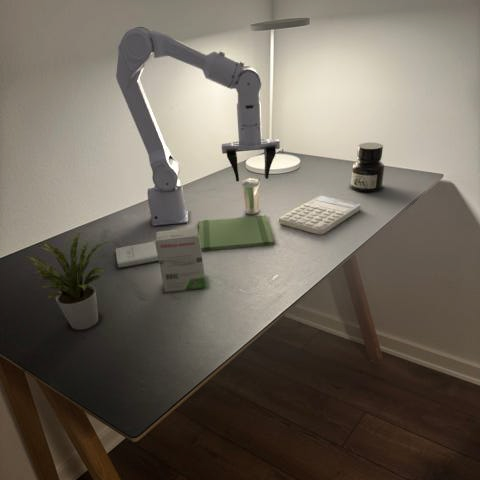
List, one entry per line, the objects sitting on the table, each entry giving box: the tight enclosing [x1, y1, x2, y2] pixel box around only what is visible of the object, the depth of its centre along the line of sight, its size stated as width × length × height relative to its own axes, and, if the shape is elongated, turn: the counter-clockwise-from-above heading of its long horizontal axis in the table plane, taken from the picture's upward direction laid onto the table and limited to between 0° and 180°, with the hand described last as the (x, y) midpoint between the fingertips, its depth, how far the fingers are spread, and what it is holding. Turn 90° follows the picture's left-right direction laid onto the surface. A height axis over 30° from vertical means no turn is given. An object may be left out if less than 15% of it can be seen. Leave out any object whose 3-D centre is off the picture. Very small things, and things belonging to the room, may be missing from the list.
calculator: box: [278, 194, 362, 236], centre depth 117 cm, size 13×20×2 cm, turn 139°
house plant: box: [25, 232, 111, 330], centre depth 81 cm, size 14×14×16 cm
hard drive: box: [115, 240, 159, 269], centre depth 105 cm, size 2×8×12 cm
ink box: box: [154, 226, 207, 293], centre depth 90 cm, size 9×5×12 cm, turn 96°
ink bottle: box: [350, 142, 385, 193], centre depth 129 cm, size 10×9×12 cm
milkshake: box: [241, 177, 261, 215], centre depth 120 cm, size 4×5×10 cm
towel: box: [198, 214, 276, 252], centre depth 112 cm, size 18×16×1 cm
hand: (252, 178), depth 117 cm, fingers open, 7 cm apart
